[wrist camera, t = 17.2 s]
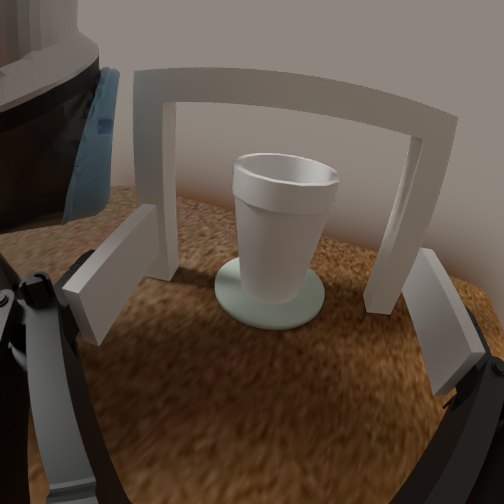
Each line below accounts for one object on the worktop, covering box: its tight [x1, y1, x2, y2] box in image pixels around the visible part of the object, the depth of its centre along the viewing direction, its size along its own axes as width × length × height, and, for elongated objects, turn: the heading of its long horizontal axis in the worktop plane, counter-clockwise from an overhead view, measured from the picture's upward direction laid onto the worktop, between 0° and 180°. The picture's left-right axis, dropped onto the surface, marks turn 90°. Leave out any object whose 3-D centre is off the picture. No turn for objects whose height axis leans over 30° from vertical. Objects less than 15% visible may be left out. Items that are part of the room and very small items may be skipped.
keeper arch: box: [133, 68, 458, 330], centre depth 26 cm, size 28×12×22 cm, turn 82°
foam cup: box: [232, 153, 340, 305], centre depth 28 cm, size 10×9×13 cm
